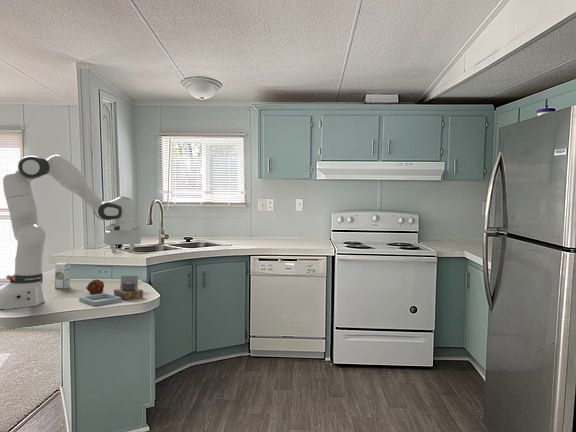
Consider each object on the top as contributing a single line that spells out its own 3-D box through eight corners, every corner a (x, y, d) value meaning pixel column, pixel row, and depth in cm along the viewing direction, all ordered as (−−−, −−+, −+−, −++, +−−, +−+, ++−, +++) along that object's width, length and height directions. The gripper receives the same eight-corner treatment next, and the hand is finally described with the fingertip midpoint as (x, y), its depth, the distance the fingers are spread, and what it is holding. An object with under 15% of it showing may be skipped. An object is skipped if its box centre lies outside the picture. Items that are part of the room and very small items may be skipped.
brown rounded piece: (95, 299, 217) (92, 297, 227) (109, 288, 222) (106, 287, 232) (85, 286, 215) (82, 285, 225) (99, 276, 220) (96, 276, 230)
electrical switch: (119, 292, 229) (120, 275, 229) (121, 291, 234) (122, 275, 234) (137, 292, 231) (138, 276, 231) (138, 291, 236) (139, 275, 236)
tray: (94, 306, 197) (94, 302, 197) (79, 300, 206) (79, 297, 206) (121, 301, 209) (121, 297, 209) (106, 296, 217) (106, 292, 217)
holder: (125, 300, 210) (125, 293, 210) (113, 297, 217) (114, 289, 216) (142, 297, 219) (143, 290, 219) (131, 294, 225) (131, 287, 225)
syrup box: (70, 287, 236) (71, 262, 236) (63, 289, 230) (64, 263, 230) (61, 286, 237) (61, 261, 236) (54, 288, 231) (55, 263, 230)
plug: (126, 298, 215) (127, 283, 214) (122, 297, 217) (122, 282, 217) (134, 297, 218) (135, 282, 218) (129, 296, 221) (130, 281, 221)
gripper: (137, 227, 228) (136, 251, 228) (102, 226, 211) (100, 252, 212) (144, 227, 224) (142, 252, 224) (109, 227, 208) (107, 254, 208)
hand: (122, 252), depth 218 cm, fingers open, 8 cm apart
